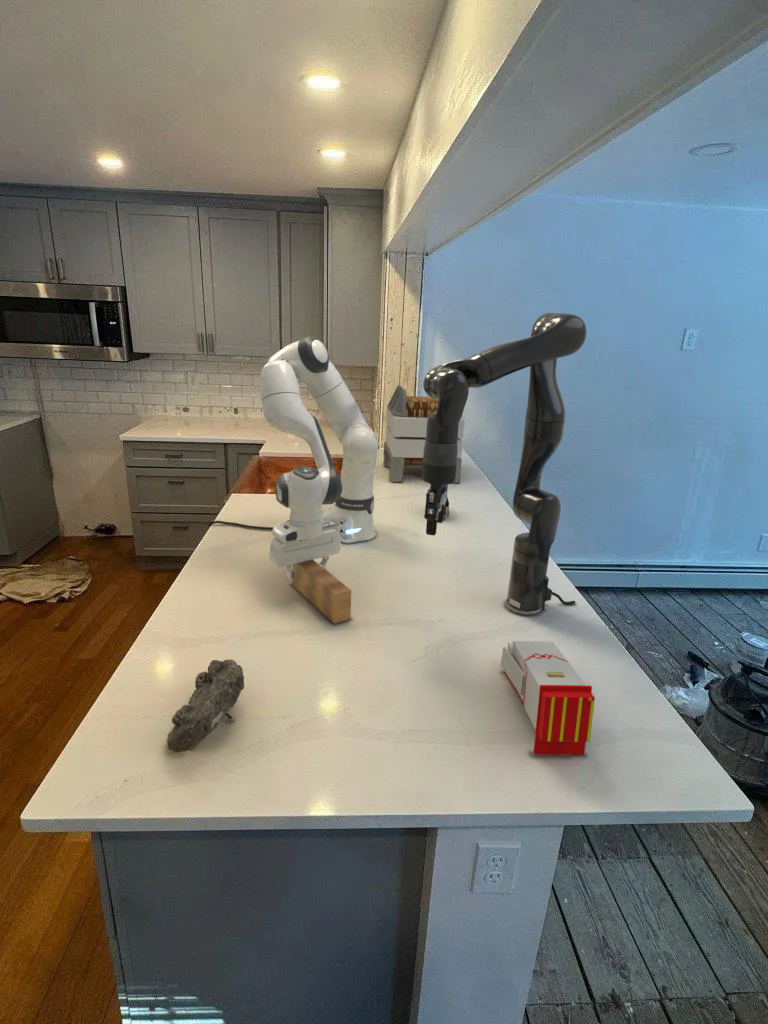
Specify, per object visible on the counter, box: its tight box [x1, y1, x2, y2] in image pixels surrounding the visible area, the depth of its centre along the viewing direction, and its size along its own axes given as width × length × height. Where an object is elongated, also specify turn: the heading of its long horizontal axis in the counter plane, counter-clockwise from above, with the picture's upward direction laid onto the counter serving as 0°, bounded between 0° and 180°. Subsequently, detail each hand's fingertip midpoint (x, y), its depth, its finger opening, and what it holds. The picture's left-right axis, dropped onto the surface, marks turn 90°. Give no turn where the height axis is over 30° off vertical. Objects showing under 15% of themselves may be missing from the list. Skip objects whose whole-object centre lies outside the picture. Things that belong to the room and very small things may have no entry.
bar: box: [291, 559, 352, 625], centre depth 151 cm, size 24×5×8 cm, turn 34°
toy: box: [500, 640, 596, 756], centre depth 114 cm, size 12×13×30 cm
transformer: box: [383, 384, 465, 484], centre depth 268 cm, size 34×33×41 cm
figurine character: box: [430, 496, 450, 521], centre depth 218 cm, size 7×8×15 cm
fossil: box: [166, 658, 245, 754], centre depth 106 cm, size 22×10×15 cm
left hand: (306, 573), depth 157 cm, fingers open, 8 cm apart
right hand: (434, 528), depth 131 cm, fingers open, 8 cm apart
